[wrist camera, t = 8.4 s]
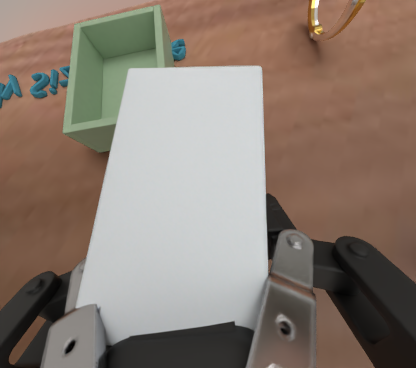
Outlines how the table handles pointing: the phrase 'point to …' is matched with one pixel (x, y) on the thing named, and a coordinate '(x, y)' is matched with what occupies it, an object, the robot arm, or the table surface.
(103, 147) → the holder
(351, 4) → the ring
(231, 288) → the cosmetics box
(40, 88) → the nameplate
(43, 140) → the table surface
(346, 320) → the robot arm
